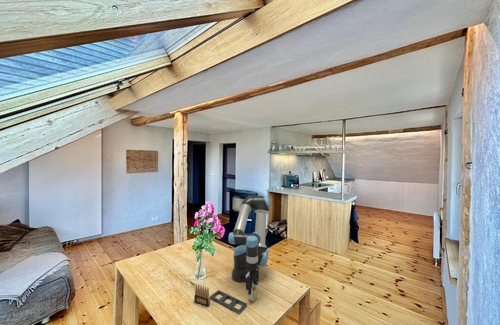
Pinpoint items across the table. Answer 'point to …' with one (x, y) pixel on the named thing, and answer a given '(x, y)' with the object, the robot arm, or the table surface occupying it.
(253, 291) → the block
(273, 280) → the table surface
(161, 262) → the table surface
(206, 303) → the ammunition clip
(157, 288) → the table surface
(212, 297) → the grey slotted plate
